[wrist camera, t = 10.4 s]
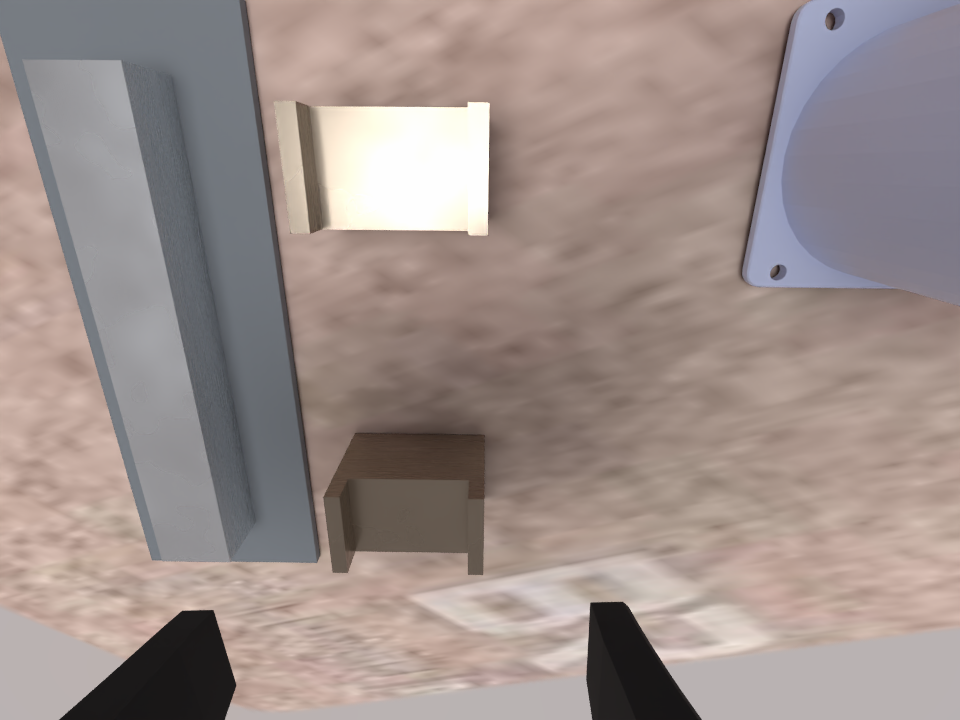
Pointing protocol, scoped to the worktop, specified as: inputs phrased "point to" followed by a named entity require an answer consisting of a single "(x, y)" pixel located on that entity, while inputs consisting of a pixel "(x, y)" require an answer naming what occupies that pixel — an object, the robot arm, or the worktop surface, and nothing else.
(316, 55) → the worktop surface
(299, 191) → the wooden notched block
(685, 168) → the worktop surface
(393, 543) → the post
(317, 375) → the worktop surface
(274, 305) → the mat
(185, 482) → the rail
